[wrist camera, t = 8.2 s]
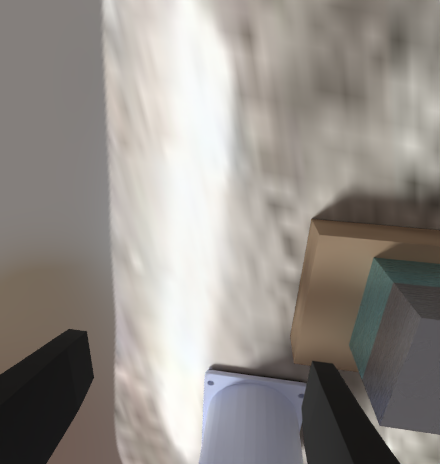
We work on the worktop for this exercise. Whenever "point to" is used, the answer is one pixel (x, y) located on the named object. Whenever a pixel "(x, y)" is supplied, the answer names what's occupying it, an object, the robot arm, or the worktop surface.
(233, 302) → the worktop surface
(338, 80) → the worktop surface
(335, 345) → the tan flat block
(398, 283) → the block
